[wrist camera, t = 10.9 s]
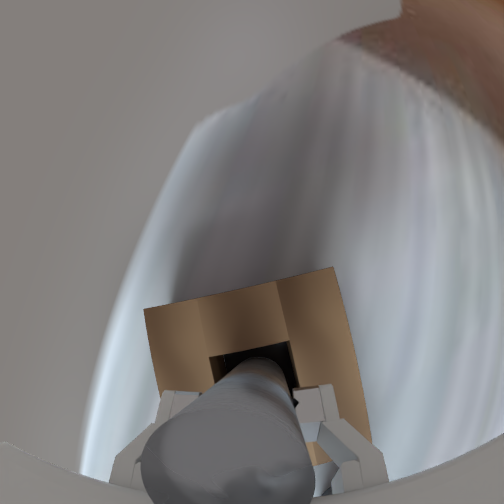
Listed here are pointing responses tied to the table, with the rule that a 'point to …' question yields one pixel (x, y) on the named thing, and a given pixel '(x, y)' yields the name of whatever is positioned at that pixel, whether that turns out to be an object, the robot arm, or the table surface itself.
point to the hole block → (262, 340)
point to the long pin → (232, 445)
